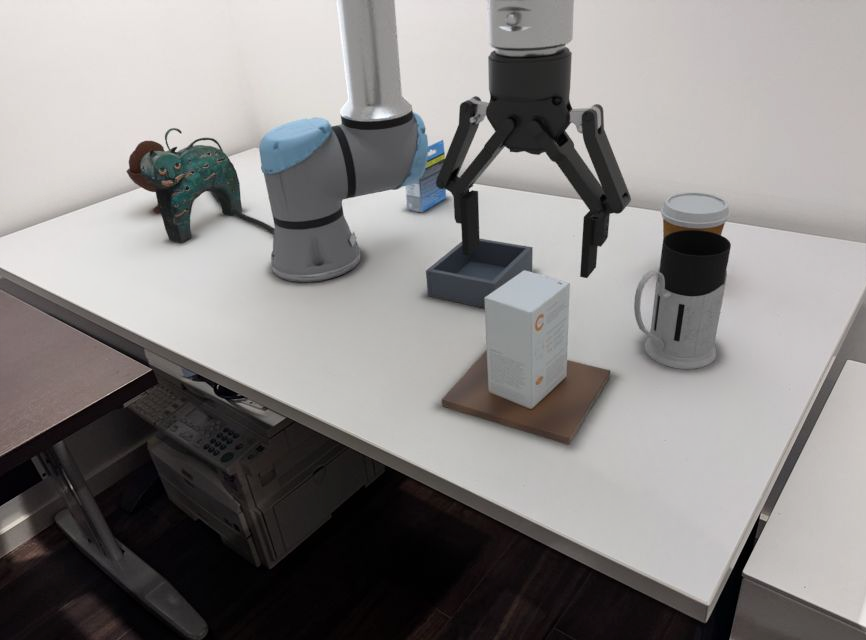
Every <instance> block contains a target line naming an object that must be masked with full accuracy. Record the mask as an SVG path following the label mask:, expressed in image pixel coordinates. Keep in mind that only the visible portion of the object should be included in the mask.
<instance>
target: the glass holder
mask: <svg viewBox="0 0 866 640" xmlns="http://www.w3.org/2000/svg"><path fill="white" fill-rule="evenodd" d="M661 246H662V247H661V254H660V263H659V269H658V270H651V271H648V272H647V273H646V274H645V275H643V276H642V278H641V279H640V281H639V282H638V284H637V286H636V288H635V294H634V304H633V305H634V306H633V308H634V318H635V321H636V324H637V327H638V328H639V330H640V331H641V332H642V333H644V334H645V335H646V336H647V337H648V338H647V340H646V341H645V344H644V350H645V352H646V354H647V356H648V357H649V358H651V359H652V360H653V361H655V362H656V363H658V364H661V365H663V366H665V367H670V368H672V369H673V368H674V369H679V370H693V369H700V368H703V367H706V366H709V365H710V364H711V363H713V362H714V361H715V359H716V357H717V349H716V346H715V342H716V337H717V333H718V332H717V331H718V327H719V321H720V317H721V310H722V305H723V299H724V295H725V289H726V283H727V277H728V275H727V273H728V272H727V268H728V265H729V258H730V254H731V247H732V244H731V242H730V240H729V239H728V238H726V237H725V236H723V235H722V234H721V235H719V234H716V233H712V232H708V231H701V230H682V231H677V232H673V233H670V234H668V235H667V236H665V237H664V239H663V238H662V245H661ZM654 276H656V284H655V291H654V298H653V307H652V315H651V322H650V323H651V324H650V331H649V330H648V329H646V327H645V325H644V322H643V319H642V314H641V303H642V301H641V300H642V295H643V290H644V288H645V285H646V284H647V283H648V281H649V280H650V279H651V278H652V277H654Z"/></svg>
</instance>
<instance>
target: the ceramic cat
mask: <svg viewBox="0 0 866 640" xmlns="http://www.w3.org/2000/svg"><path fill="white" fill-rule="evenodd" d="M172 131H176V132H178V133H179V134H182V133H183V132H182V130H181V129H180V128H176V127H172V128H171V127H170V128H169V129H168V130H167V131H165V133H164V140H165V145H166V147H167V149H168V150H164V151H153V150H152V149H151V151H150V152H148V153H147V154H146V155H145V156H144V157H143V158H142V160H141V164H140V165H141V173H142V176H143V178H144V180H145V181H146V182H147V183H148V184H150V185H151V186H153V187H154V188H155V190H156V192H155V196H156V201H157V202H156V203H157V205H158V207H159V211H160V213H161V214H160V215H161V219H162V222H163V224H164V229H165V232H166V235H167V238H168V240H169V241H171V242H174V243H179V244H183V243H185V242H187V241H188V240H190V239H192V238H193V236H192V228H191V215H192V210H193V209H192V208H193V205H194V202H195V200H196V199H198V197H200V196H201V195H202V194H204V193H205V192H210V193H211V192H213V193H214V194H215V195H216V196H217V198H218V201H219V203H220V204H219V203H218V204H219V205H220V208H221V212H222V214H223V215H227V216H230V217H231V216H235V215H234V214H233V213H232V211H233V210H236V211H238V212H240V213H242V211H243V205H242V199H241V197H242V196H241V184H240V180H239V175H238V173H237V170H236V168H235V166H234V164H233V163H232V162H231V160H230V157H229V156H228V155H227V153H225V152H224V150H223V148H222V146H221V145H220V142H218V140H217V139H215V138H213V137H200V138H197V139H194V140H193V141H192V142H191V143H190V144H189V145H187V146H186V147H183V148H182V149H180V150H177V149H178V146H174V147H172V148H170V146H169V143H168V135H169V134H170V133H171V132H172ZM200 141H212V142H213V143H215V144H216V145H217V146H218V147H215V146H211V145H203V144H196V143H198V142H200ZM218 201H217V202H218Z"/></svg>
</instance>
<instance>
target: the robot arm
mask: <svg viewBox="0 0 866 640" xmlns="http://www.w3.org/2000/svg"><path fill="white" fill-rule="evenodd" d="M335 1H336V9H337V16H338V24H339V25H338V27H339V35H340V42H341V50H342V59H343V67H344V75H345V84H346V91H347V101H346V102H345V103H344V105H343V106H342V107H341V108H340V110H339V111H340V113H339V114H340V121H341V122H340V123H341V124H338V125H332V124H331V123H330V121H329V120H328V119H326V118H324V117H311V118H300V119H296V120H293V121H289V122H286V123H284V124H281V125H279V126H276V127H275V128H272V129H271V130H269V131H267V132H266V134H264V135H263V137H262V138H261V140H260V142H259V145H258V146H259V147H258V150H259V158H260V164H261V165H260V169H261V172H262V174H263V178H264V181H265V182H264V183H265V186H266V190H267V195H268V201H269V205H270V211H271V215H272V219H273V225H274V227H273V226H272V225H270V224H267V223H265V222H264V221H261V220H259V219H257V218H254V217H252V216H249V215H246V214H244V213H242V212H238V211H236V210H233V211H232V213H233V214H234V215H233V216H236V217H237V218H240V219H242V220H243V221H246V222H248V223H252V224H253V225H256V226H259V227H261V228H262V229H264V230H266V231H267V232H269V233H271V234H273V239H272V252H271V255H270V262H271V267H272V271H273V273H274V274H275V276H277V277H278V278H280V279H282V280H285V281H290V282H295V283H312V282H313V283H314V282H321V281H326V280H330V279H334V278H337V277H340V276H343V275H345V274H347V273H348V272H350V271H352V270H353V269H354V268H356V267H357V266H358V265H359V263H360V261H361V259H362V258H361V250H360V246H359V243H358V241H357V239H358V237H357V235H356V233H355V232H354V231H352V230H351V228H350V226H349V223H348V222H347V220H346V218H345V215H344V207H343V200H346V199H347V200H348V199H352V198H358V197H361V196H365V195H366V196H367V195H371V194H376V193H381V192H387V191H391V190H392V191H395V190H396V191H397V190H399V189H401V188H403V187H406V186H407V185H411V184H414V183H416V182H417V181H418V180H419V179H420V178H421V176H422V175H423V173H424V171H425V168H426V164H427V158H428V156H429V152H428V146H429V140H428V134H427V133H426V130H427V129H426V125H425V122H424V119H422V117H421V115H419V114H418V113H416V112H414V111H413V104H412V103H411V102H410V101H409V100H408V99H407V98H405V96H403V91H402V79H401V77H402V76H401V63H400V51H399V40H398V38H399V37H398V26H397V25H398V24H397V12H396V0H335ZM574 5H575V0H487V44H488V45H489V46H490V47H491V48H492V49H494V50H493V51H491V52H490V54H489V55H488V58H487V65H488V91H489V95H490V97H489V101H483V100H482V99H481V97H479V96H477V95H473V97H470V98H468V99H467V100H464V101H463V102H461V103H460V105H459V112H458V125H457V128H456V130H455V133H454V135H453V138H452V140H451V142H450V145H449V148H448V150H447V153H446V155H445V160H444V162H443V165H442V167H441V170H440V172H439V175H438V177H437V180H436V185H437V187H438V188H439V189H444V188H445V189H446V191H449V192H450V194H451V195H452V197H453V212H454V213H453V215H454V221H455V223H456V224H459V225H460V227H461V229H460V230H461V242H462V251H463V255H467V256H469V255H470V254H471V253H473V252H474V251H475V250H476V249H477V248H478V247H479V246H480V239H481V238H480V212H479V211H480V210H479V209H480V208H479V206H480V205H479V191H478V190H474V189H473V190H470V189H471V188H473V187H474V184H475V183H476V182H477V181H478V180H479V178H480V177H481V176H482V175H483V173H485V171H486V170H487V169H488V168H489V166H490V165H491V164H492V163H493V162H494V160H495V159H496V158H497V157H498V155H500V153H501V152H502V150H503V149H504V148H506V149H508V150H509V153H521V152H522V153H523V152H525V153H528V154H530V155H535V156H540V155H541V154H544V153H545V154H546V155H547V157H548V158H549V160H550V161H551V162H554V163H555V164H557V166H558V168H559V169H560V171H561V172H562V173H563V176H565V177H566V179H567V180H568V182H569V183H570V185H571V187H573V189H574V190H575V192H576V193H577V195H578V197H580V199H581V200H582V201H583V203H584V204H585V206H586V207H587V209H588V210H589V211H588V212H586V214H585V215H584V216H583V220H582V221H583V223H582V226H583V227H582V238H581V239H582V240H581V256H580V258H581V259H580V271H579V272H580V273H579V278H584V279H588V278H589V277H590V276H591V274H592V273H593V272H594V270H595V269H596V268H597V259H598V247H602V246H603V245H604V244H605V243H606V242H607V239H608V237H609V228H610V227H609V226H610V218H611V217H610V215H611V214H616V215H617V214H618V215H619V214H622V212H623V211H624V210H625V209H626V208H627V207H628V206H629V204H630V203H631V201H632V197H631V194H630V192H629V189H628V187H627V184H626V181H625V178H624V177H623V174H622V171H621V169H620V166H619V164H618V161H617V158H616V157H615V156H616V155H615V154H614V151H613V147H612V146H611V143H610V141H609V138H608V136H607V132H606V131H605V119H604V117H605V116H604V108H603V106H602V105H601V104H598V103H596V104H593V105H592V106H590V107H585V108H573V107H572V104H571V100H570V95H571V78H572V59H573V58H572V57H573V56H572V55H573V52H572V51H570V48H569V47H567V46H566V45H568V44H570V43H571V42H572V40H573V38H574V37H573V35H574V9H575V8H574V7H575V6H574ZM485 118H486V120H487V121H488V122H489V124H490V125H491V127H492V128H493V130H494V133H493V134H492V135H491V137H490V138H489V139H488V140H487V141H486V143H485V144H484V145H483V148H482V149H481V150H480V151H479V153H478V154H477V155H476V156H475V158H474V159H473V160H472V162H471V163H470V164H469V165H468V166H467V168H466V169H465V170H464V172H463V173H462V174H461V176H459V173H460V171H461V169H462V167H463V165H464V162H465V159H466V157H467V155H468V153H469V150H470V148H471V146H472V143H473V141H474V138H475V136H476V133H477V131H478V129H479V126H480V123H482V122H484V120H485ZM571 124H574V125H575V127H576V130H577V132H578V133H579V134H582V139H583V143H584V145H585V149H586V151H587V154H588V156H589V158H590V161H591V163H592V165H593V168H594V170H595V173H596V176H597V178H598V179H597V178H596V176H595V175H594V173H593V172H592V171H591V169H590V168H589V166H588V165H587V163H586V162H585V161H584V160H583V158H582V156H581V155H580V154H579V152H578V151H577V149H576V148H575V143H574V141H573V140H572V138H571V137H570V135H569V134H568V133H567V131H566V130H567V129H568V127H569V126H570V125H571ZM210 193H211V195H212V197H213V198H214V199H215V201H216V202H217V203H218V204H219V205H220V203H219V201H218V198H217V196H216V195H215V194H214V193H213V192H210Z"/></svg>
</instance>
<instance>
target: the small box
mask: <svg viewBox="0 0 866 640" xmlns="http://www.w3.org/2000/svg"><path fill="white" fill-rule="evenodd" d="M570 290H571V283H570V282H568V281H565V280H562V279H559V278H555V277H552V276H548V275H544V274H540V273H536V272H533V271H532V272H529V271H525V270H524V271H522V272H521V273H519V274H518V275H516V276H515V277H514V278H512V279H511V280H509V281H508V282H506V283H505V284H503V285H502V286H501V287H499V288H498V289H496V290H495V291H493V292H492V293H490V294H489V295H488V296H486V297H485V298H484V299H485V308H484V317H485V318H484V319H485V341H486V344H485V345H486V350H487V366H488V390H489V392H490V393H493V394H495V395H498V396H500V397H502V398H505V399H507V400H510V401H512V402H514V403H517V404H519V405H522V406H524V407H527V408H529V409H532V408H533V407H534V406H535V405H537V404H538V403H539V402H540V401H541V400H542V399H543V398H544V397H545V396H546V395H547V394H548V393H549V392H551V391H552V390H553V389H554V388H555V387H556V386H557V385H558V384H559V383H560V382H561V381H562V380H563V379H564V378H565V377H566V376H567V360H568V343H569V341H568V340H569V320H570V319H569V318H570V316H569V315H570V295H571V294H570V292H571V291H570Z"/></svg>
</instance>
